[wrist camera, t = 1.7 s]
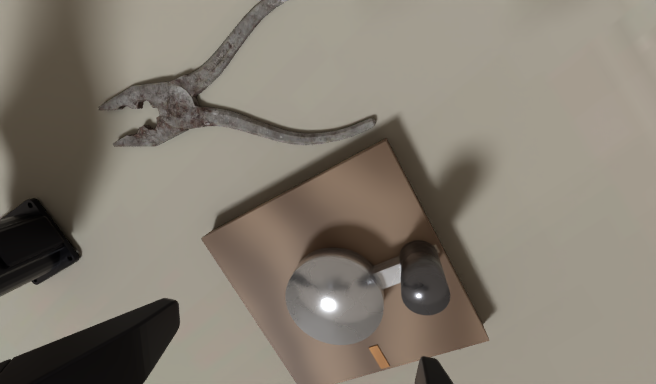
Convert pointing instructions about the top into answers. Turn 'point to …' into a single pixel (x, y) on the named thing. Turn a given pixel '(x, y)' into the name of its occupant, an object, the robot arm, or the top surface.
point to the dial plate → (353, 234)
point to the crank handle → (362, 290)
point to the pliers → (186, 114)
